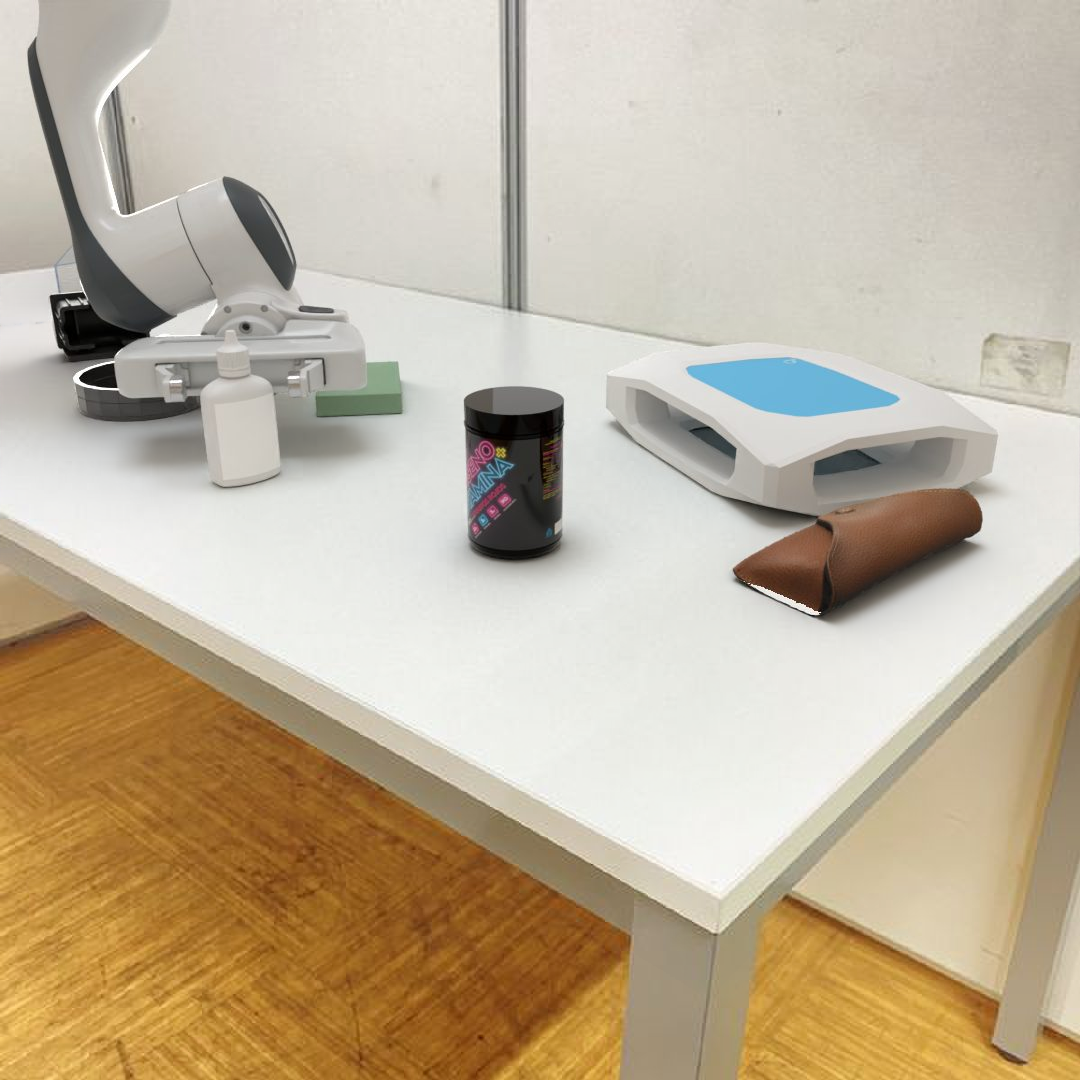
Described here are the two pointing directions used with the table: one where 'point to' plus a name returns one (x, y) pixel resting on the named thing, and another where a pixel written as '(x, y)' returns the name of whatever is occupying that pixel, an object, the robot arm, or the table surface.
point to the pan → (121, 398)
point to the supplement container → (514, 470)
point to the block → (365, 394)
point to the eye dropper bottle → (239, 420)
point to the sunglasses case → (862, 546)
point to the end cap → (86, 329)
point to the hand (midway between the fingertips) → (235, 390)
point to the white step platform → (797, 424)
